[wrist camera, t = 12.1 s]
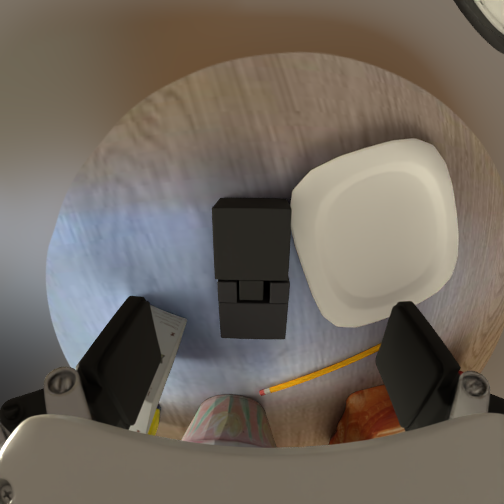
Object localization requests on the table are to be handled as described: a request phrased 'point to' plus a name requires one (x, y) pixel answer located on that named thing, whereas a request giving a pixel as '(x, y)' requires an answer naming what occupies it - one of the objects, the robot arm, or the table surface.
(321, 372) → the pencil
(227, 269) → the black rectangular block
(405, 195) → the plate
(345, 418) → the ceramic vessel
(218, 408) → the potted plant
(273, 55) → the table surface
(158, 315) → the white packaging box
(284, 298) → the socket pad
